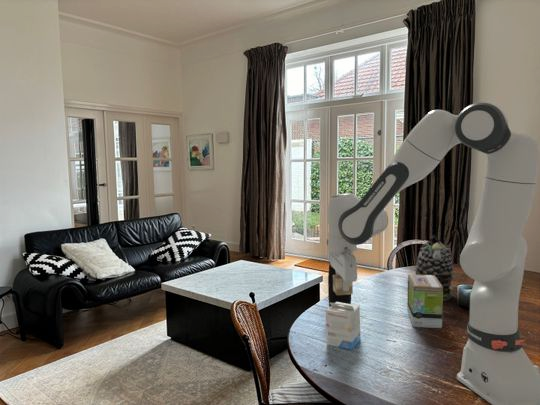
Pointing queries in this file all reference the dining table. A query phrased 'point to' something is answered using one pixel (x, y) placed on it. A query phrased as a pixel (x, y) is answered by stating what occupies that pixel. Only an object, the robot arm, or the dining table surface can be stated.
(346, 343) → the ink box
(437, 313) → the tea box
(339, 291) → the oak cube
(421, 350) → the dining table surface
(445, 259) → the pine cone
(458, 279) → the dining table surface
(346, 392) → the dining table surface
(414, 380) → the dining table surface
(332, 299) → the portable speaker
